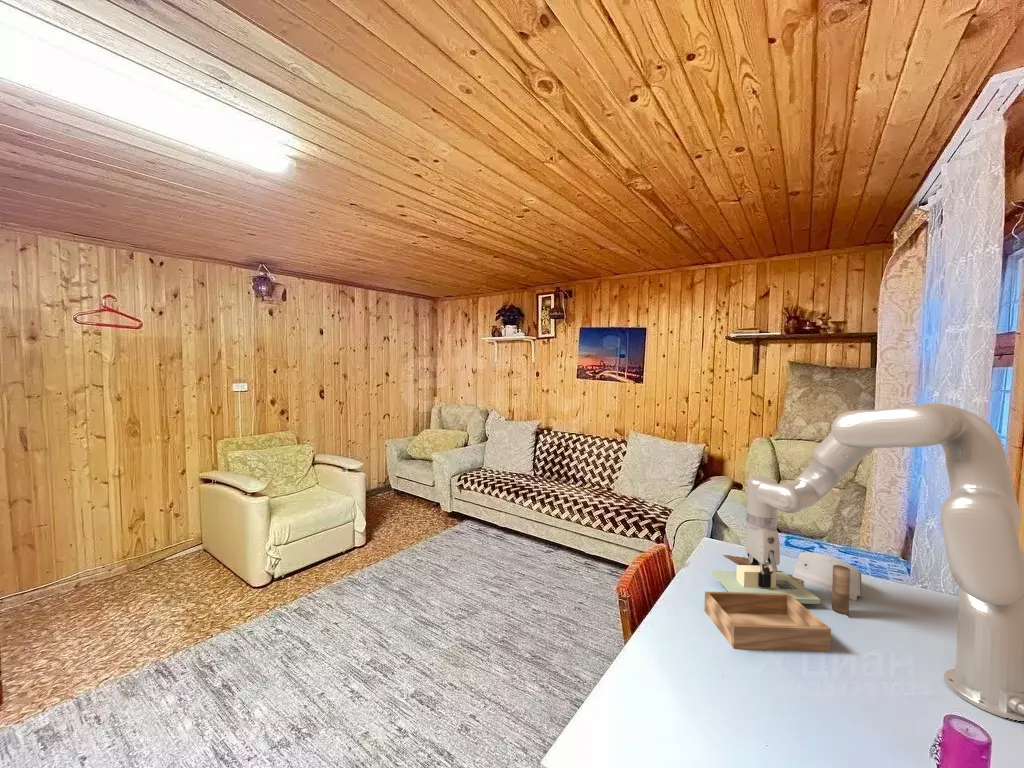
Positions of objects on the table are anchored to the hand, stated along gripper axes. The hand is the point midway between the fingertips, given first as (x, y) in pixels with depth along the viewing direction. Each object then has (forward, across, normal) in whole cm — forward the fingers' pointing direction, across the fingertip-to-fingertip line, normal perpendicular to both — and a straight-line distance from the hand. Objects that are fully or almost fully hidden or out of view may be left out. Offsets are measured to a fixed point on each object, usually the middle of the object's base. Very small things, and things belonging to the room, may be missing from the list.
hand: (759, 581), depth 118 cm
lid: (+2, 0, -1) cm, 2 cm away
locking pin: (+4, -8, -17) cm, 19 cm away
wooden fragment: (+5, +16, -10) cm, 19 cm away
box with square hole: (+4, -17, +9) cm, 20 cm away
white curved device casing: (+4, +7, -25) cm, 26 cm away
